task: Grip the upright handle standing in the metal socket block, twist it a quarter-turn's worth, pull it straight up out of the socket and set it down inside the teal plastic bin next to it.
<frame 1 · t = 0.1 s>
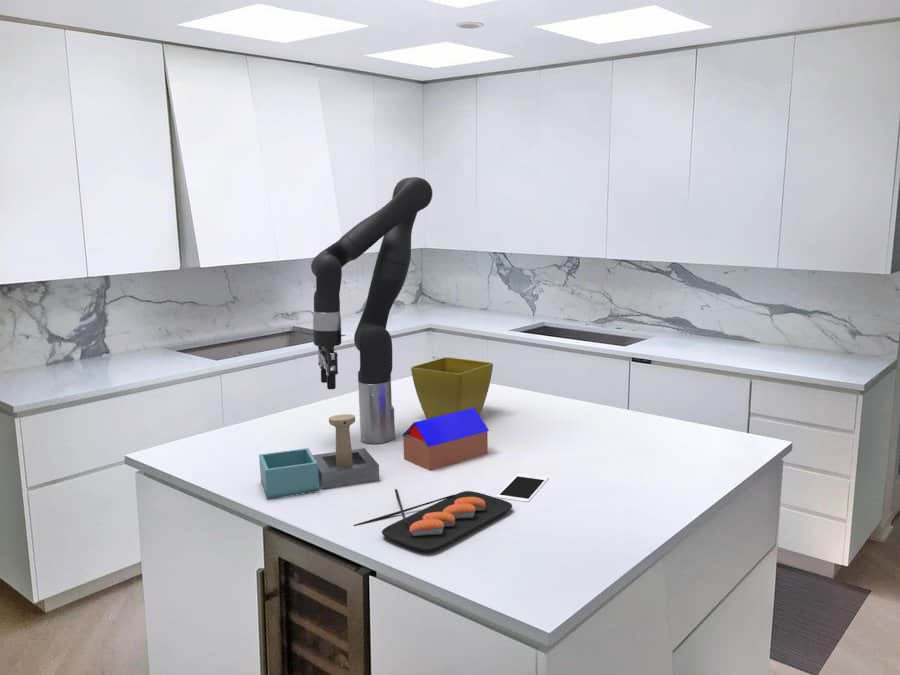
hand: (328, 385, 208), 17 cm above the counter, tool pointing down, fingers open, 8 cm apart
socket block: (344, 475, 188), on the counter
sushi plate: (422, 517, 164), on the counter
cell phone: (523, 490, 178), on the counter
handle: (344, 476, 188), resting in socket block
flower pot: (453, 417, 237), on the counter
house: (446, 458, 201), on the counter
bin: (289, 486, 182), on the counter
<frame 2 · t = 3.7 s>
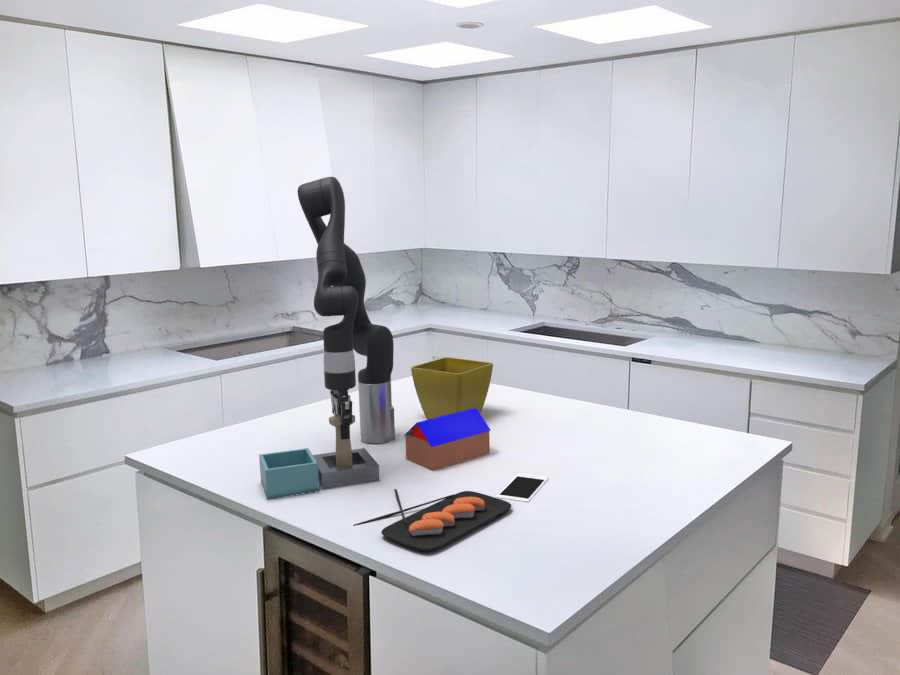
hand: (342, 435, 186), 10 cm above the counter, tool pointing down, fingers closed on handle, 5 cm apart
handle: (344, 476, 188), resting in socket block, touching gripper
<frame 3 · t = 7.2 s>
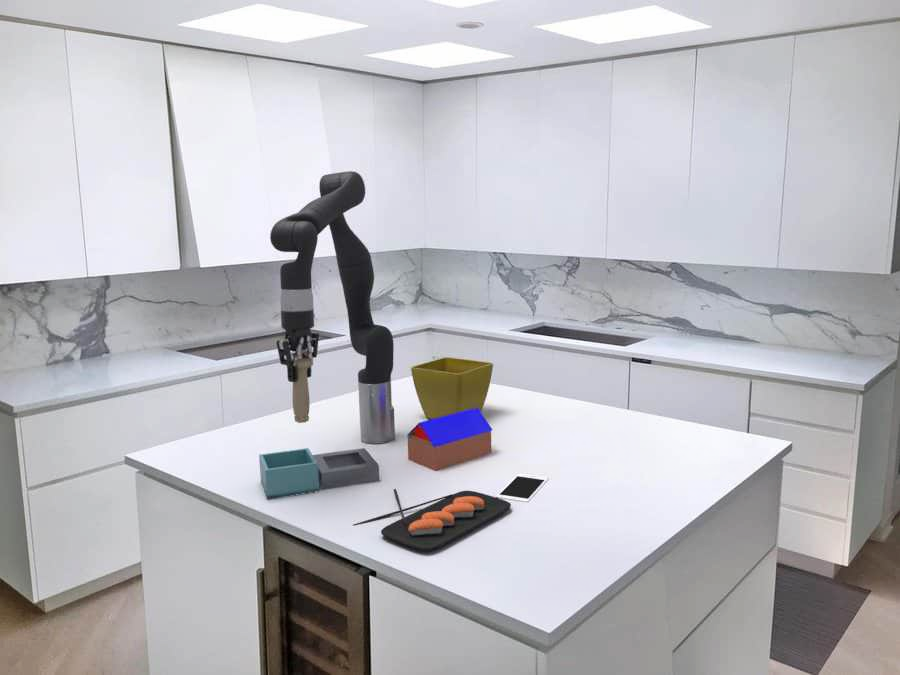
hand: (300, 378, 179), 26 cm above the counter, tool pointing down, fingers closed on handle, 5 cm apart
handle: (301, 422, 180), point 15 cm above the counter, touching gripper
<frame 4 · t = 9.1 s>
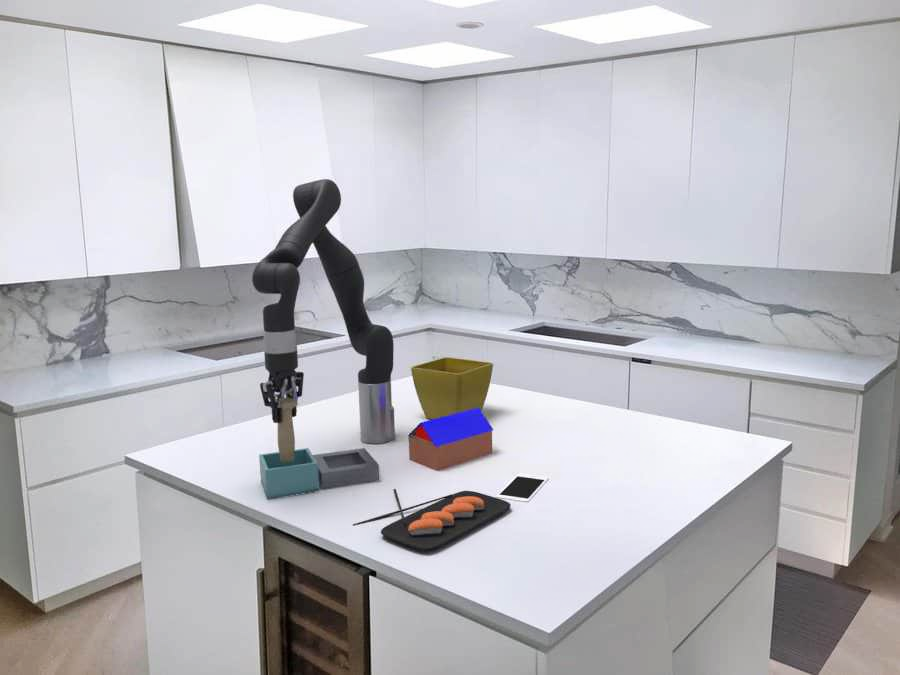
hand: (285, 419, 179), 17 cm above the counter, tool pointing down, fingers closed on handle, 5 cm apart
handle: (287, 461, 181), point 6 cm above the counter, touching gripper
when the fingers open (13 cm above the counter, at t = 10.7 s): handle drops 2 cm, resting on bin.
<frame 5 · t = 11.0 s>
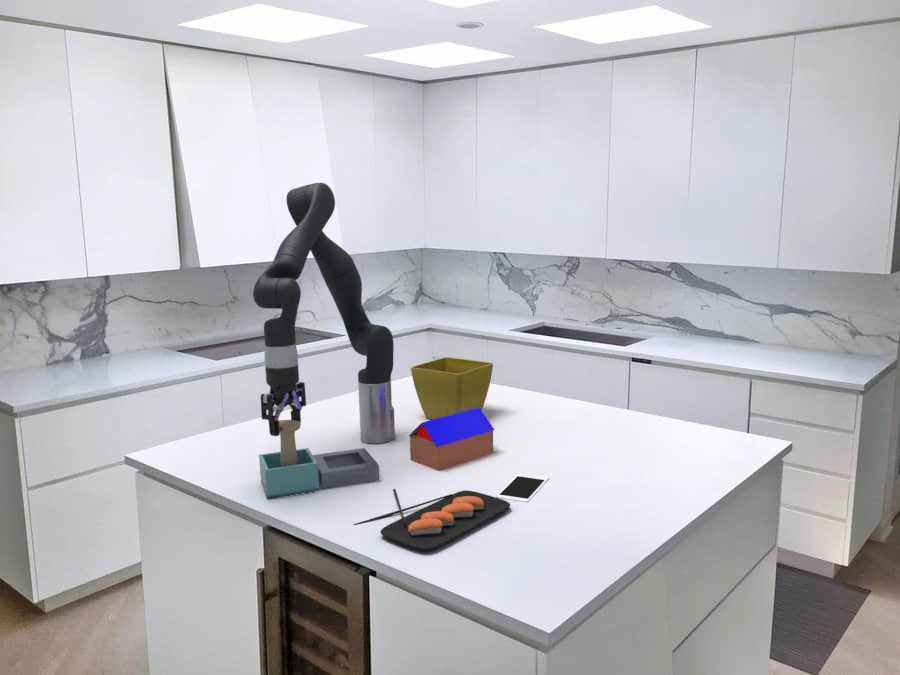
hand: (285, 430, 179), 14 cm above the counter, tool pointing down, fingers open, 8 cm apart
handle: (290, 483, 182), point 1 cm above the counter, touching bin
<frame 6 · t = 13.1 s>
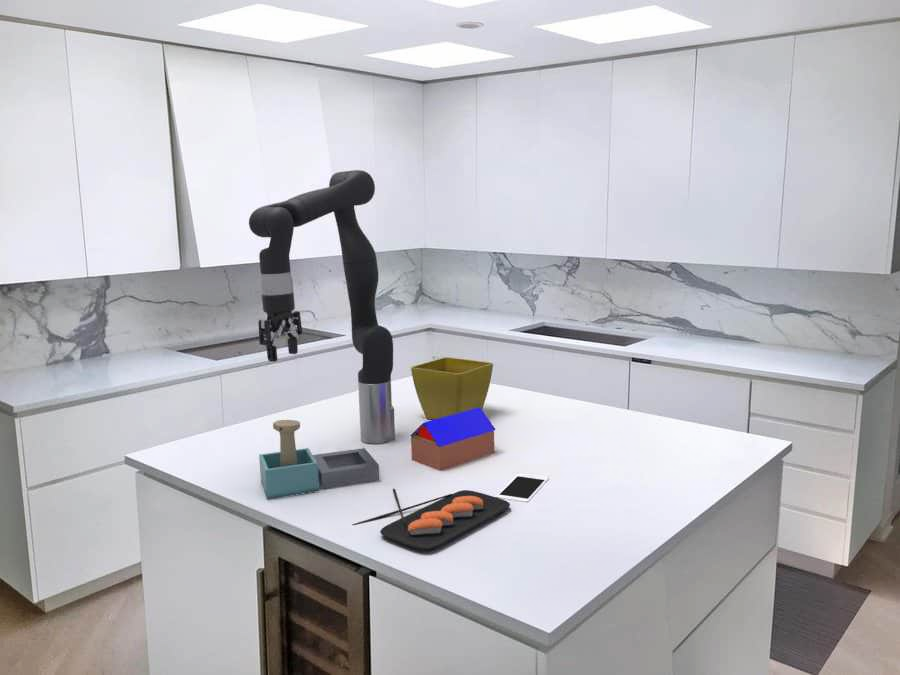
hand: (283, 357, 184), 30 cm above the counter, tool pointing down, fingers open, 8 cm apart
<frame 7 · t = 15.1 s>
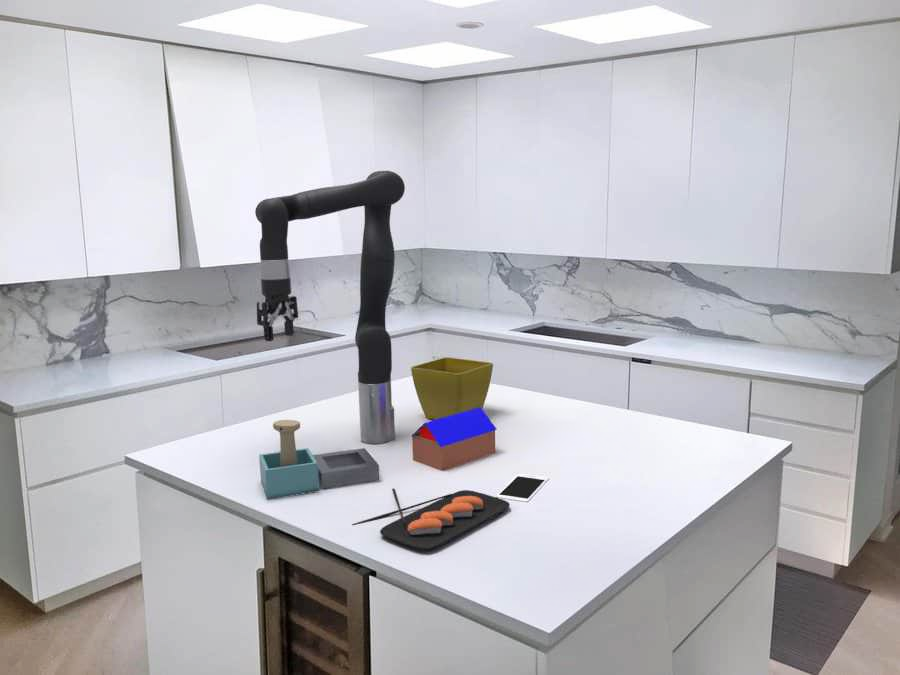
hand: (279, 338, 199), 32 cm above the counter, tool pointing down, fingers open, 8 cm apart
at the end: handle inside the target area on the bin (0.4 cm from its centre), point 0.6 cm above the bin's base; the gripper is holding nothing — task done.
